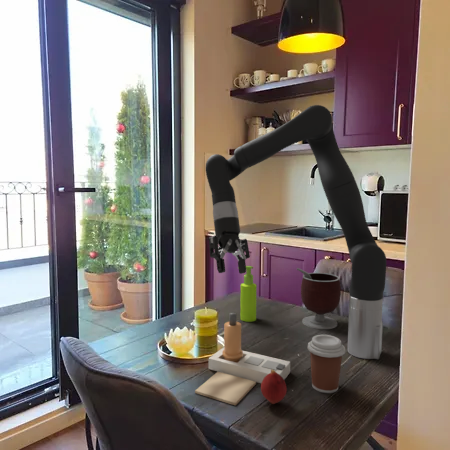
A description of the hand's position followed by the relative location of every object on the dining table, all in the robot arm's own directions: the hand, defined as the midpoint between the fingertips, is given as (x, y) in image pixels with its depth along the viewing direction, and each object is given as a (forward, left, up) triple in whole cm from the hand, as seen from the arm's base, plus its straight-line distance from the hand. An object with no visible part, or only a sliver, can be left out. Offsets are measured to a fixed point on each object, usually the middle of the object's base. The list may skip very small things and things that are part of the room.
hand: (232, 272), depth 112 cm
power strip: (-9, +7, -24) cm, 27 cm away
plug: (-4, +7, -24) cm, 26 cm away
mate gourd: (-15, -38, -25) cm, 48 cm away
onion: (-20, +18, -25) cm, 37 cm away
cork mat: (-8, +18, -24) cm, 31 cm away
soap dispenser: (+9, -29, -25) cm, 39 cm away
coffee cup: (-29, +5, -25) cm, 38 cm away
